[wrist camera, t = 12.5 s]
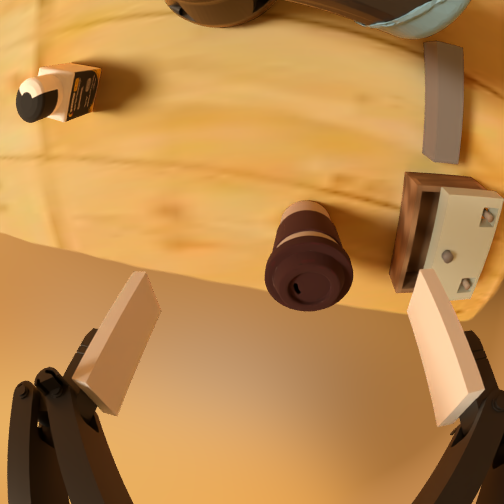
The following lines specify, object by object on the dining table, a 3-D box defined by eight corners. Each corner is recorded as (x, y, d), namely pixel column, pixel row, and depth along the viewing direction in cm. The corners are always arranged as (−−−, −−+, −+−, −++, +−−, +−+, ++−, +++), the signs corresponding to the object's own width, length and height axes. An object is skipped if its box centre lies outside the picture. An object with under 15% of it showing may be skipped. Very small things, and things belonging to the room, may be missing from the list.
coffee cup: (348, 200, 41) (370, 264, 29) (326, 255, 47) (335, 327, 34) (280, 183, 41) (275, 241, 28) (265, 241, 46) (254, 311, 34)
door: (441, 186, 32) (452, 198, 29) (495, 191, 31) (507, 202, 28) (416, 292, 42) (422, 307, 39) (464, 288, 41) (472, 302, 38)
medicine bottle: (93, 112, 37) (40, 133, 27) (60, 103, 36) (8, 123, 26) (103, 68, 33) (48, 77, 23) (69, 62, 32) (14, 72, 22)
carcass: (404, 171, 37) (426, 194, 30) (471, 177, 35) (498, 199, 29) (388, 273, 47) (400, 306, 40) (447, 271, 45) (464, 301, 39)
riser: (423, 42, 26) (436, 40, 23) (448, 47, 25) (462, 47, 22) (422, 152, 35) (433, 161, 32) (445, 155, 34) (458, 164, 31)
